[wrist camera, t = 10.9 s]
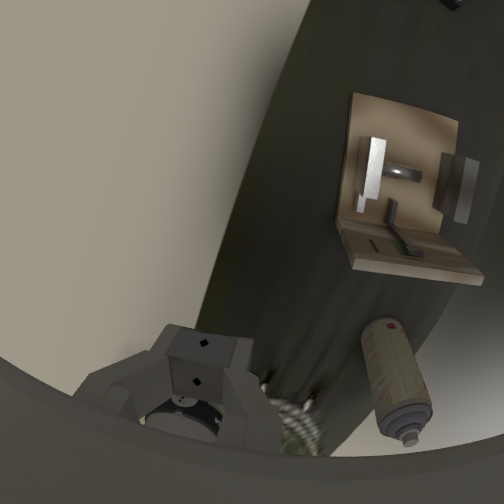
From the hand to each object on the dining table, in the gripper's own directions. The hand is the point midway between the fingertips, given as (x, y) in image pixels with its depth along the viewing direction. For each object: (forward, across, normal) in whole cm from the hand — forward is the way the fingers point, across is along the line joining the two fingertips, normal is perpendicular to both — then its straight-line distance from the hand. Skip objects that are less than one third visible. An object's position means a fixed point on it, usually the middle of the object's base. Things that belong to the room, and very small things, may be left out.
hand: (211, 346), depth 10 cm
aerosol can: (+28, +19, -18) cm, 39 cm away
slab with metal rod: (+26, +13, +4) cm, 29 cm away
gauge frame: (+28, +15, +6) cm, 32 cm away
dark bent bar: (+26, +14, +1) cm, 29 cm away
